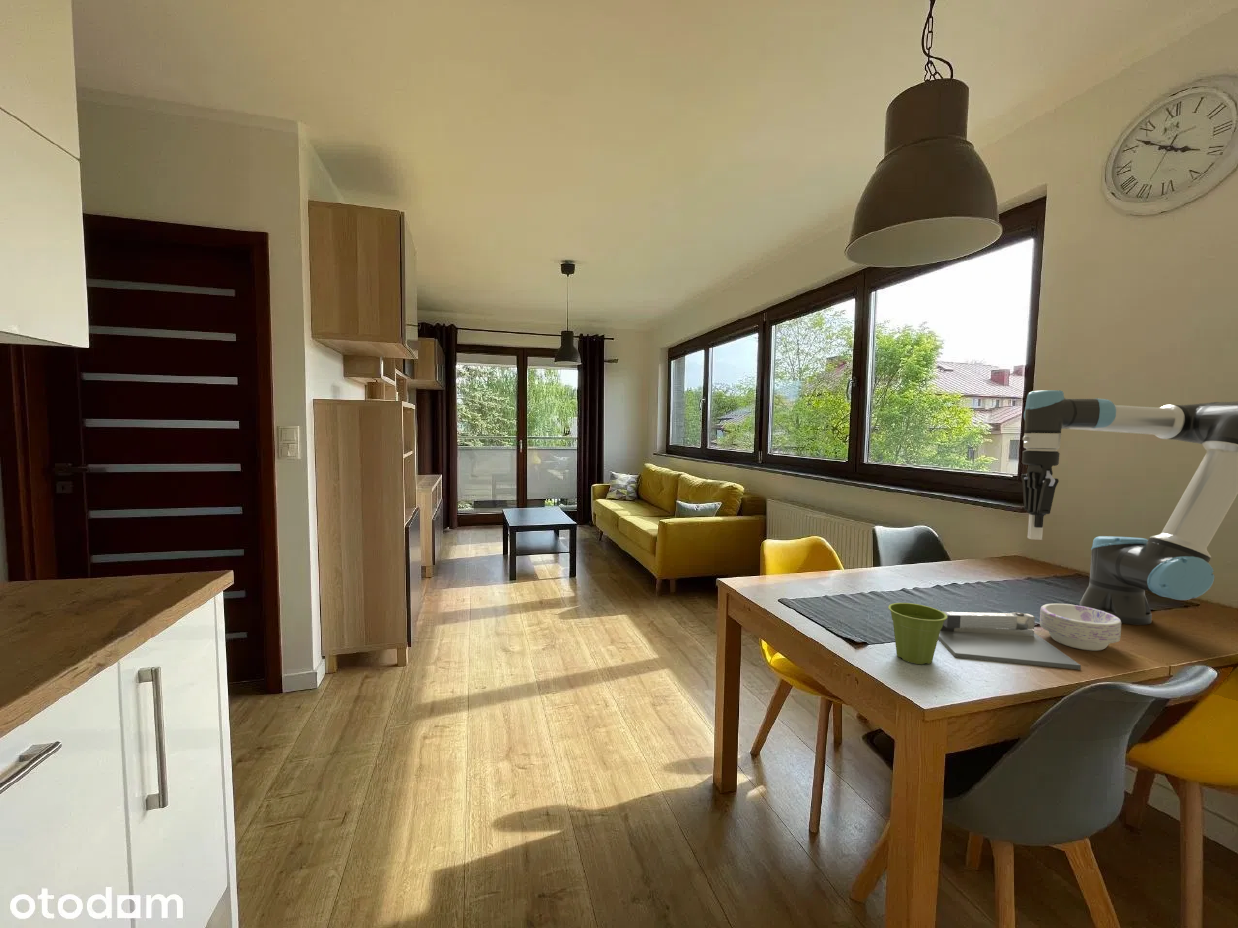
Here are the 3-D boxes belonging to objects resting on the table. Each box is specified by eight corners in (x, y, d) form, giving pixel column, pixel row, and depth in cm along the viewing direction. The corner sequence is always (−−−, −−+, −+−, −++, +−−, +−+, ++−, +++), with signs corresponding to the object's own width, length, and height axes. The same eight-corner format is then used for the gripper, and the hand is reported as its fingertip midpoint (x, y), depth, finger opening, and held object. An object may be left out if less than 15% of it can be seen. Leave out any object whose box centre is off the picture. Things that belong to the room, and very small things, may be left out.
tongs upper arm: (1025, 624, 136) (1026, 611, 135) (1036, 630, 132) (1037, 616, 132) (939, 622, 136) (940, 609, 136) (947, 628, 132) (948, 614, 132)
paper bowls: (1024, 636, 135) (1027, 606, 135) (1060, 628, 141) (1063, 599, 140) (1096, 660, 121) (1099, 627, 121) (1133, 651, 127) (1136, 619, 126)
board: (1029, 633, 137) (1030, 629, 137) (1080, 669, 117) (1080, 665, 116) (924, 624, 143) (924, 620, 142) (955, 657, 122) (955, 652, 122)
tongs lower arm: (1027, 632, 135) (1028, 626, 135) (1034, 637, 132) (1035, 630, 132) (935, 626, 138) (935, 620, 138) (940, 630, 135) (940, 624, 135)
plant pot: (954, 672, 114) (957, 622, 114) (895, 667, 117) (898, 617, 116) (931, 649, 126) (934, 604, 125) (879, 645, 128) (881, 600, 127)
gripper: (1012, 448, 144) (1006, 533, 146) (1038, 450, 132) (1031, 543, 133) (1043, 449, 143) (1037, 534, 144) (1073, 451, 130) (1066, 545, 132)
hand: (1034, 538), depth 139 cm, fingers closed
